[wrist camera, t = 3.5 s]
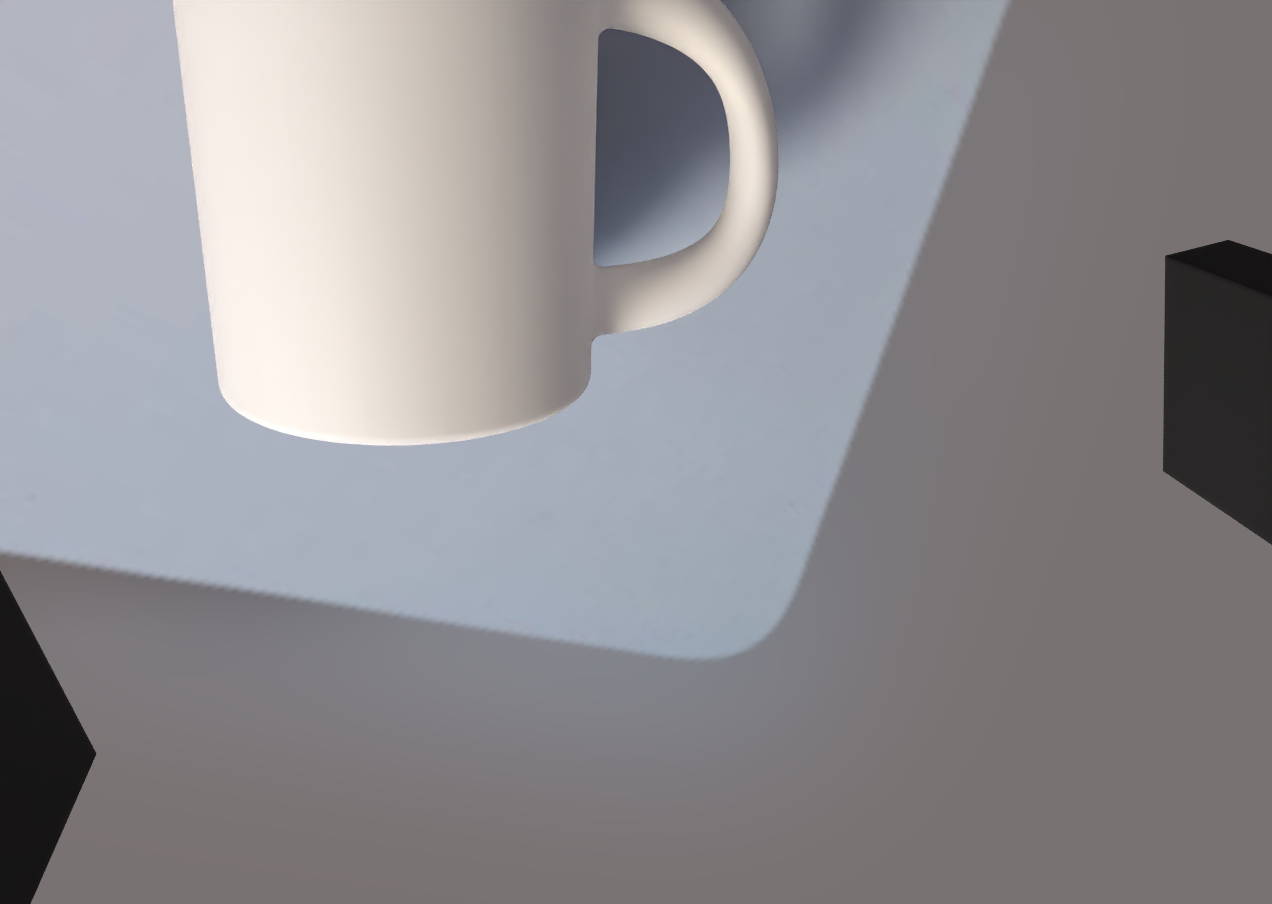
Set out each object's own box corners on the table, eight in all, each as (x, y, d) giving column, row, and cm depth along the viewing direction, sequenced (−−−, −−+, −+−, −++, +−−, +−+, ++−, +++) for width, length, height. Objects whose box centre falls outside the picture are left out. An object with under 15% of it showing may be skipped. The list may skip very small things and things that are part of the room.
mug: (251, 330, 27) (184, 456, 20) (203, -120, 23) (98, -165, 16) (719, 324, 29) (812, 437, 22) (747, -91, 25) (872, -120, 18)
